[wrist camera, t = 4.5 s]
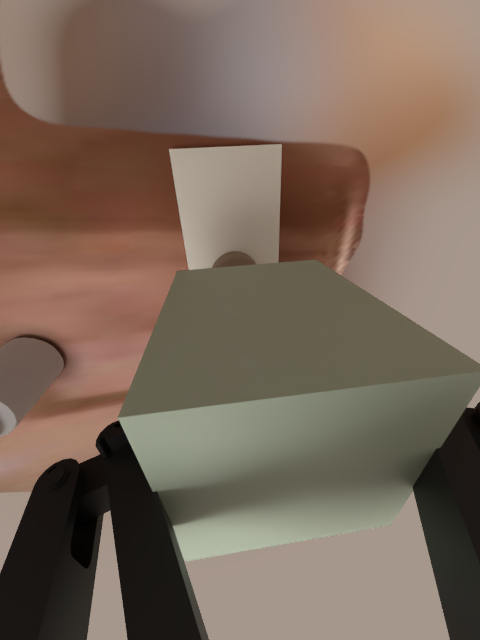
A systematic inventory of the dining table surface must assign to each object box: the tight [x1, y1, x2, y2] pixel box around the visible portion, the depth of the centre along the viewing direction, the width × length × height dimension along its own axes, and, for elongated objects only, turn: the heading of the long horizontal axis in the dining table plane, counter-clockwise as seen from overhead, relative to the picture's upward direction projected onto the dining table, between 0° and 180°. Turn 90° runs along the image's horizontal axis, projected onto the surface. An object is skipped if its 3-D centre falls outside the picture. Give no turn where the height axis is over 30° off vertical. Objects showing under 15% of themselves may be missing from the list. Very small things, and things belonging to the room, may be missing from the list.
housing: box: [118, 260, 480, 561], centre depth 12 cm, size 9×9×11 cm
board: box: [169, 144, 282, 270], centre depth 29 cm, size 30×11×6 cm, turn 3°
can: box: [0, 337, 64, 437], centre depth 28 cm, size 8×8×12 cm
